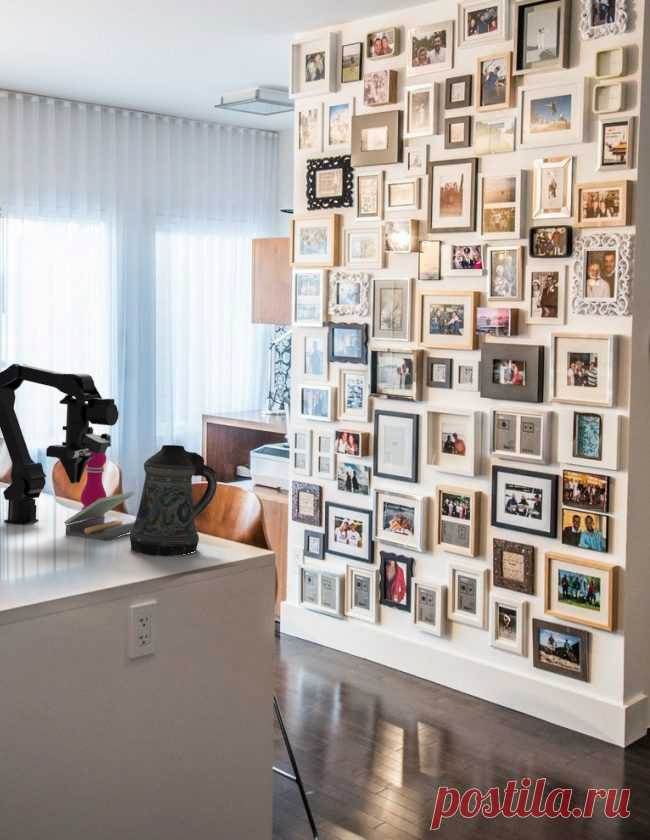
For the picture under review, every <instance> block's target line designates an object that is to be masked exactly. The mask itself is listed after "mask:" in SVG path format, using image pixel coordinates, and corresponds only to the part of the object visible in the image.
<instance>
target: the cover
mask: <svg viewBox="0 0 650 840" xmlns="http://www.w3.org/2000/svg"><path fill="white" fill-rule="evenodd" d="M134 495H135V492H134V491H129V492H124V493H120V494H114V495H110V496H107V497H105V498H100V499H98V500H97V501H95V502H94V503H92V504H91V505H89V506H87V507H86V508H84V509H83V510H82V509H81V510H80V511H78V512H77V513H76V514H73V516H71V517H69V518H68V519H66V520H65V521H64V522H63V523H64V525H65V526H66V525H68V524H72V523H76V522H80V521H84V520H88V519H92V518H96V517H100V516H101V517H103V516H104V515H105V514H106V513H108V512H110V511H111V510H112V509H114V508H116V507H117V506H119V505H120V504H122V503H123V502H125V501H126V500H128V499H129V498H130V497H132V496H134ZM103 514H104V515H103Z"/></svg>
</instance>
